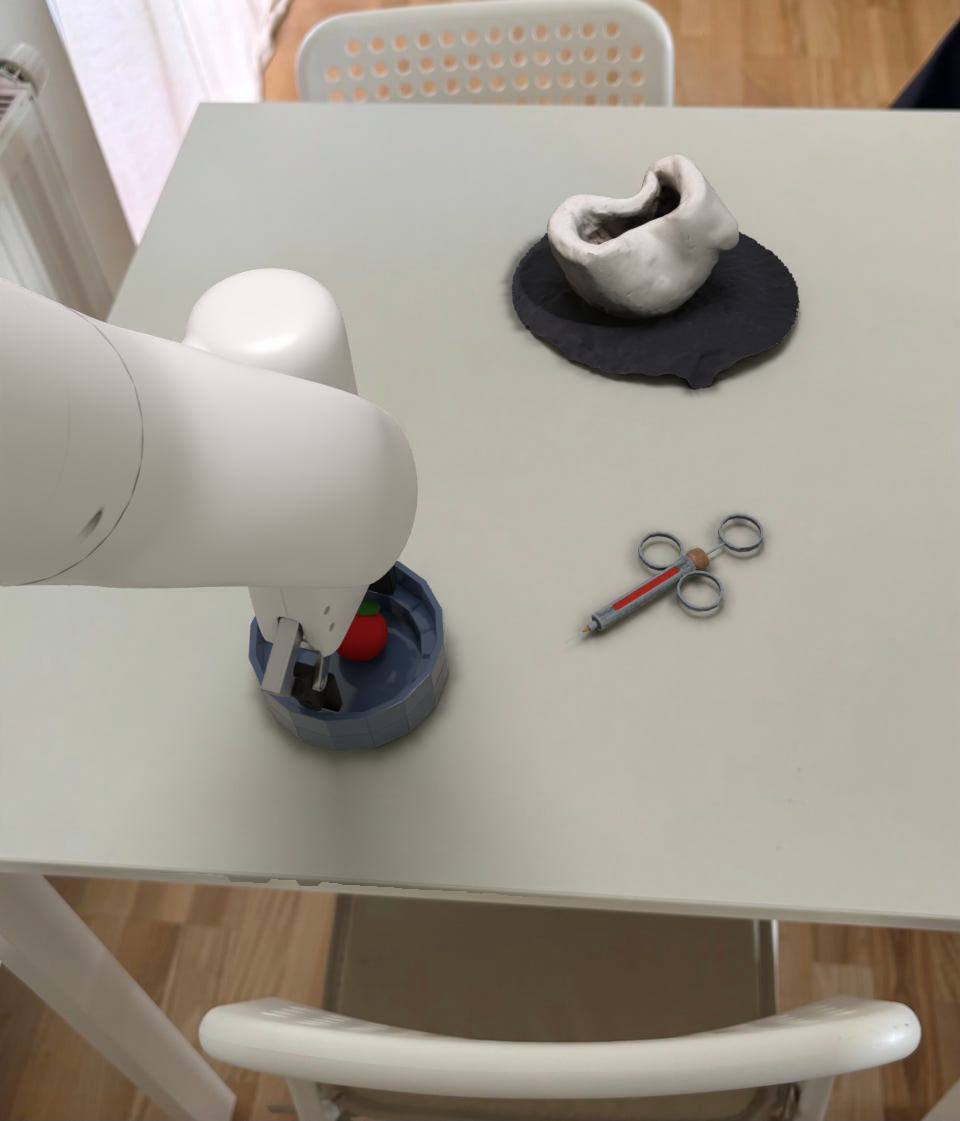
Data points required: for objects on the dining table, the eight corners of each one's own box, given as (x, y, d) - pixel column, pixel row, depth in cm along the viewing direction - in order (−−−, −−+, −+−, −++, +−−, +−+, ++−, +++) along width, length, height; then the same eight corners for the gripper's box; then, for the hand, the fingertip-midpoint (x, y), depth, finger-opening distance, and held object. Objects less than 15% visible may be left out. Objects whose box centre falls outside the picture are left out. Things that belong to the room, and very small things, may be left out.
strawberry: (371, 676, 75) (379, 619, 74) (317, 662, 76) (324, 605, 74) (392, 657, 78) (399, 602, 77) (340, 644, 79) (347, 589, 78)
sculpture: (805, 401, 92) (850, 283, 82) (507, 388, 92) (513, 268, 82) (775, 227, 105) (811, 105, 95) (514, 216, 105) (520, 93, 95)
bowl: (409, 776, 73) (402, 744, 69) (233, 724, 76) (216, 689, 72) (472, 617, 80) (469, 578, 76) (309, 574, 83) (297, 534, 78)
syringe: (532, 611, 80) (532, 599, 78) (721, 496, 85) (724, 482, 84) (597, 688, 76) (598, 676, 75) (791, 563, 81) (795, 549, 80)
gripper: (305, 358, 66) (345, 532, 80) (168, 588, 56) (241, 739, 70) (422, 383, 64) (443, 556, 78) (302, 624, 55) (349, 771, 69)
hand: (347, 642), depth 74 cm, fingers open, 9 cm apart
